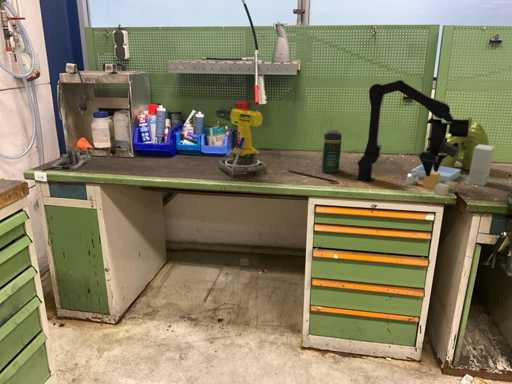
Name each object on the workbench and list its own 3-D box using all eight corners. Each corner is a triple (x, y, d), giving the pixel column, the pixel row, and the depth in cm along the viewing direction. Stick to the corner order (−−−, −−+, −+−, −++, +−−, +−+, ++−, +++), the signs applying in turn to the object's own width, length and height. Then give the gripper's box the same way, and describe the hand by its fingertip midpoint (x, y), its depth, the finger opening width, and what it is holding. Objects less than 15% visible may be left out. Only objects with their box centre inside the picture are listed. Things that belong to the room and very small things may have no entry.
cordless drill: (251, 162, 204) (250, 104, 195) (268, 171, 188) (269, 109, 179) (215, 166, 197) (213, 107, 188) (230, 177, 180) (229, 112, 172)
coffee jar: (338, 174, 186) (342, 132, 181) (320, 173, 188) (323, 131, 182) (339, 168, 195) (342, 129, 190) (322, 167, 197) (324, 128, 191)
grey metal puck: (415, 185, 171) (416, 176, 170) (404, 183, 174) (405, 174, 173) (419, 183, 175) (420, 174, 173) (408, 181, 177) (410, 172, 176)
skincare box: (472, 179, 181) (478, 143, 176) (489, 182, 177) (496, 146, 173) (467, 183, 175) (473, 146, 170) (484, 186, 171) (491, 149, 166)
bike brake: (67, 159, 203) (43, 176, 186) (64, 146, 200) (39, 162, 183) (94, 161, 202) (71, 178, 184) (91, 147, 198) (68, 164, 181)
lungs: (479, 166, 204) (488, 116, 196) (490, 174, 189) (501, 121, 182) (425, 163, 208) (432, 114, 200) (432, 171, 193) (440, 119, 186)
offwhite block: (444, 196, 159) (445, 187, 158) (433, 194, 161) (435, 185, 160) (447, 194, 162) (449, 185, 161) (437, 191, 164) (438, 183, 163)
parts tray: (448, 183, 175) (449, 176, 174) (410, 176, 184) (411, 169, 183) (459, 176, 186) (460, 169, 185) (423, 169, 196) (424, 163, 195)
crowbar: (341, 180, 174) (335, 183, 171) (341, 183, 175) (335, 185, 171) (287, 168, 192) (281, 170, 188) (287, 170, 192) (281, 172, 188)
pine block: (453, 193, 162) (454, 185, 161) (442, 191, 165) (444, 182, 164) (456, 191, 165) (458, 182, 164) (446, 189, 168) (447, 180, 167)
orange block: (434, 189, 167) (436, 175, 165) (422, 187, 169) (424, 173, 168) (437, 187, 170) (440, 172, 168) (426, 184, 173) (428, 170, 171)
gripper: (452, 141, 151) (445, 183, 156) (466, 134, 165) (460, 173, 170) (421, 137, 158) (415, 177, 163) (437, 131, 172) (432, 168, 177)
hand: (432, 174), depth 168 cm, fingers open, 9 cm apart
